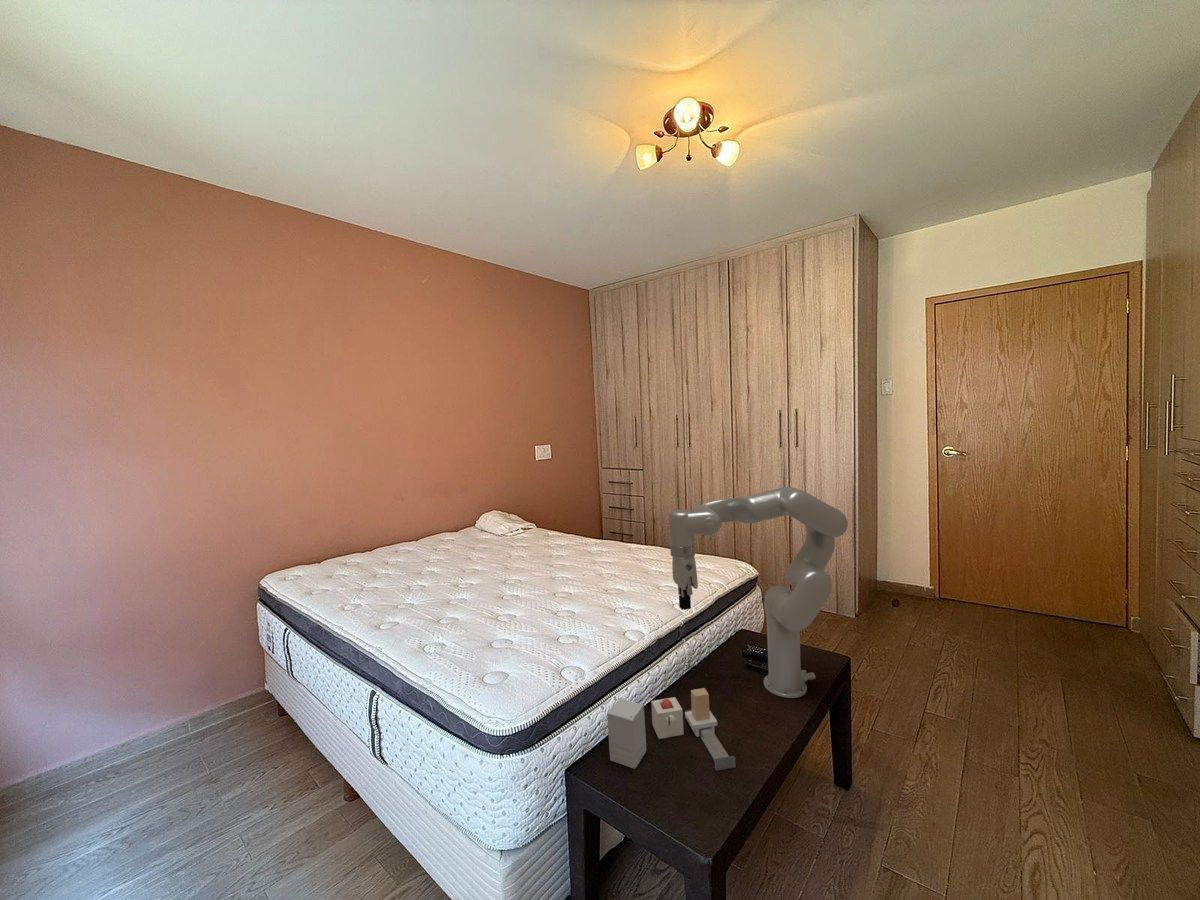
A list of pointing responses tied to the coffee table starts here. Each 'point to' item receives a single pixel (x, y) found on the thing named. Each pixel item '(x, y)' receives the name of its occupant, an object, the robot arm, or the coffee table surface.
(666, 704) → the button
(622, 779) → the coffee table surface
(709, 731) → the rail
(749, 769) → the coffee table surface
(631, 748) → the supplement box
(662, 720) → the white cube box
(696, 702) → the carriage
